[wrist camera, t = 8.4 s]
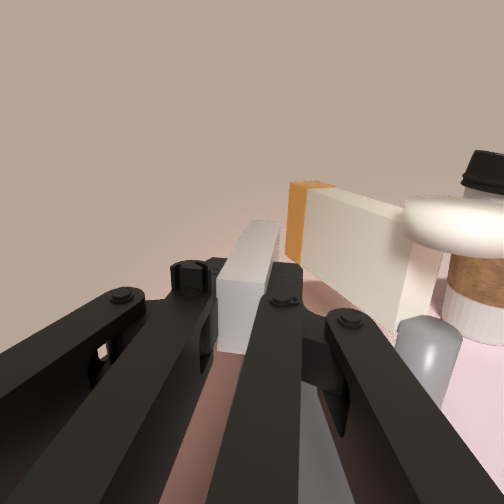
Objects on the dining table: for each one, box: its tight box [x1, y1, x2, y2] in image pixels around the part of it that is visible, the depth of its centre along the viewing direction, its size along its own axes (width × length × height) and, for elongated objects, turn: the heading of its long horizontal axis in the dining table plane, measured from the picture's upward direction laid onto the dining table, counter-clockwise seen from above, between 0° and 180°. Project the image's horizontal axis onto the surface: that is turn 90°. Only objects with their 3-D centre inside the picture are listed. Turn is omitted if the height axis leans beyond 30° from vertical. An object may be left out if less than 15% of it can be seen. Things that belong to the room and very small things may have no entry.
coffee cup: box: [441, 150, 504, 346], centre depth 27 cm, size 8×8×15 cm
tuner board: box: [226, 355, 355, 504], centre depth 18 cm, size 12×18×2 cm
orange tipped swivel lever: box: [285, 181, 504, 409], centre depth 18 cm, size 13×4×12 cm, turn 23°
